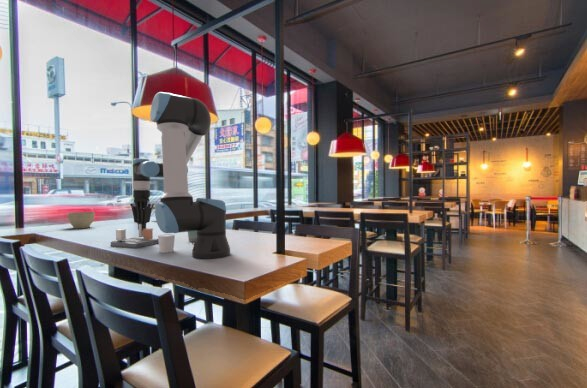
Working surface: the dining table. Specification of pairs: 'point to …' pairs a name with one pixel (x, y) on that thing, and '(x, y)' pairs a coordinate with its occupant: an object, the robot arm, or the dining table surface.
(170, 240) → the white tapered cup
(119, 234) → the cylinder
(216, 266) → the dining table surface
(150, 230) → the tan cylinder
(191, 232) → the coffee cup
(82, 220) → the planter bowl
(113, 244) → the dark grey tray
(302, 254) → the dining table surface
